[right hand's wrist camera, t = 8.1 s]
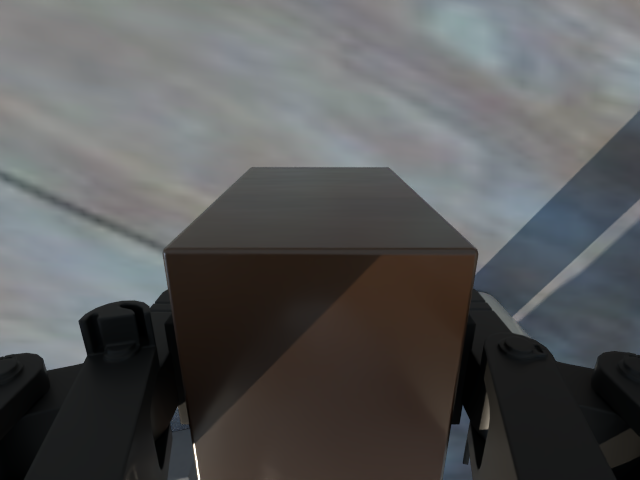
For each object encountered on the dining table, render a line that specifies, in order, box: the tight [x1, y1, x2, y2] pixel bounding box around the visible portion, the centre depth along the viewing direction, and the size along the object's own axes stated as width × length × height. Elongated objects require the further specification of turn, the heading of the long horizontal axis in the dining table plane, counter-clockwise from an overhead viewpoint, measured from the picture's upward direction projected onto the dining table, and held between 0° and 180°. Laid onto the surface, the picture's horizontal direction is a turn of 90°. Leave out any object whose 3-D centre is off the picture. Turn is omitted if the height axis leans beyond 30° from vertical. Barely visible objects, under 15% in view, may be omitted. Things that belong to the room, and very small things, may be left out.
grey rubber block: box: [167, 429, 198, 480], centre depth 32 cm, size 5×5×5 cm
